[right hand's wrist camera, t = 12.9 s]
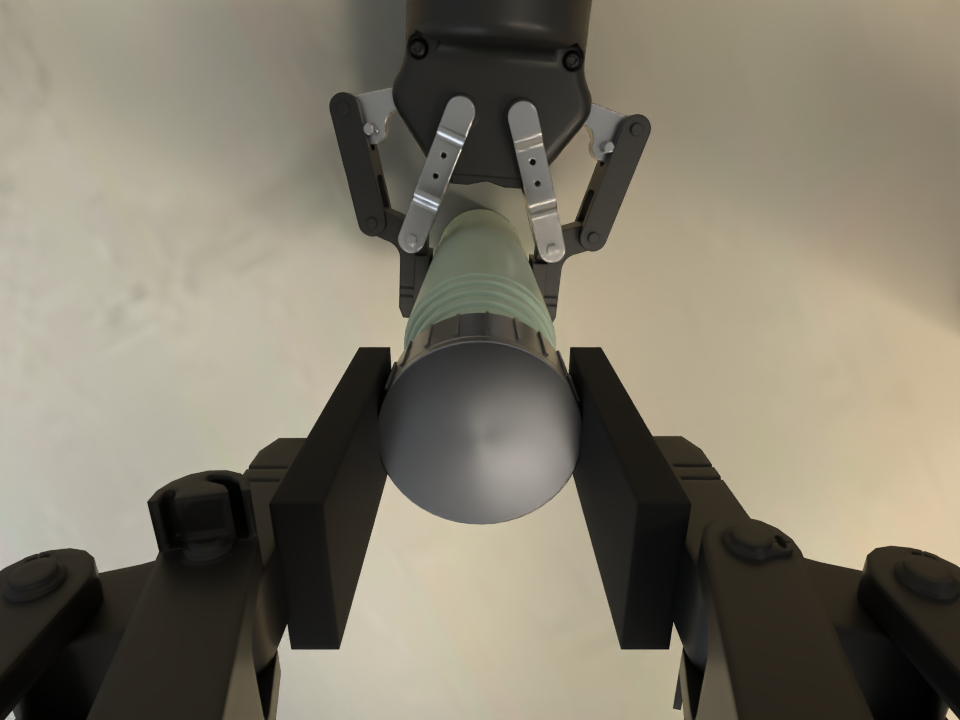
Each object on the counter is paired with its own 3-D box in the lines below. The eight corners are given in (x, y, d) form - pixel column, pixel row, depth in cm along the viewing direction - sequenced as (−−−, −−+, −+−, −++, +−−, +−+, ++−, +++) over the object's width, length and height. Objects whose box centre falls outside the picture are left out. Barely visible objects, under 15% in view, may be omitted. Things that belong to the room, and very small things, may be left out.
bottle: (536, 257, 34) (627, 444, 13) (473, 305, 35) (464, 551, 14) (486, 191, 33) (498, 283, 12) (422, 244, 34) (329, 415, 13)
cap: (608, 411, 15) (627, 453, 13) (466, 507, 16) (464, 560, 14) (496, 270, 13) (499, 293, 11) (350, 385, 14) (329, 424, 12)
